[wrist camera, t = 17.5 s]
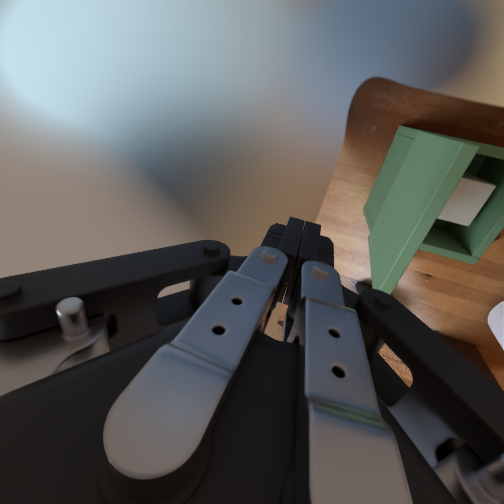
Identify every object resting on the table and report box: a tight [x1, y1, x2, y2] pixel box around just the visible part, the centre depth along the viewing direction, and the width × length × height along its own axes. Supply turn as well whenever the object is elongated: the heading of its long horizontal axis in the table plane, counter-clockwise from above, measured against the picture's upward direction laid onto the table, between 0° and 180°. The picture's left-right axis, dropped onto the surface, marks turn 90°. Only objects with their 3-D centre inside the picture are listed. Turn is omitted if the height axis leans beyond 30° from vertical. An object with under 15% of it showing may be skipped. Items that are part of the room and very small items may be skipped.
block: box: [437, 172, 496, 226], centre depth 29 cm, size 4×4×6 cm
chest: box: [363, 125, 504, 265], centre depth 28 cm, size 11×11×9 cm
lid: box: [368, 130, 480, 295], centre depth 20 cm, size 11×11×1 cm
